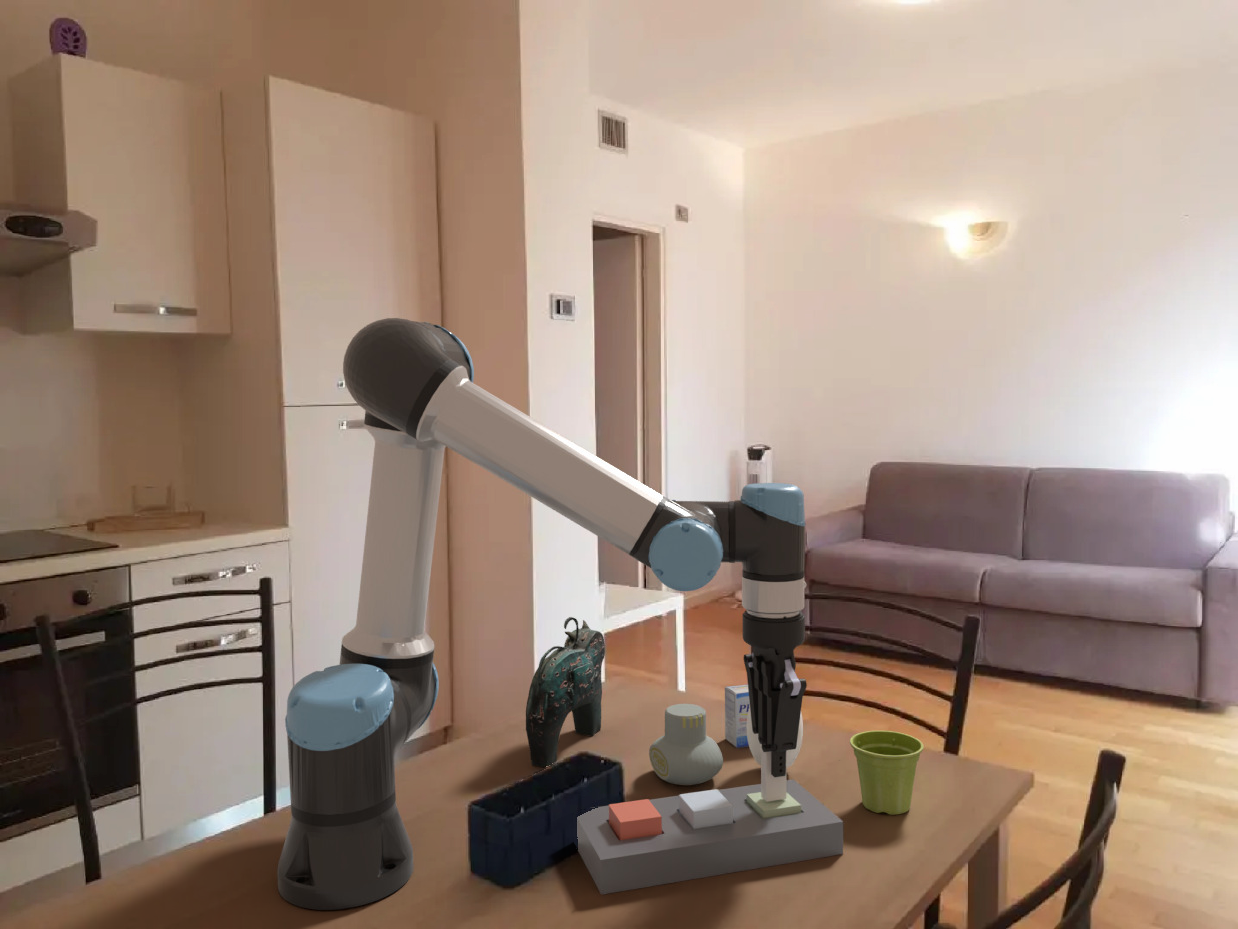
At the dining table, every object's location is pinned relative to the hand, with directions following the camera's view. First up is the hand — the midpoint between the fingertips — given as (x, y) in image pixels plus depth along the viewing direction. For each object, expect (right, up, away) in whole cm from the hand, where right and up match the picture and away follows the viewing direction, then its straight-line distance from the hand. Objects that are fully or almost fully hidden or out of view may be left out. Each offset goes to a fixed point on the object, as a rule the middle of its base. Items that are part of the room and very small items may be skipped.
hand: (773, 797), depth 120 cm
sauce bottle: (+3, -3, +21) cm, 21 cm away
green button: (0, -3, 0) cm, 3 cm away
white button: (-9, -2, -2) cm, 9 cm away
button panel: (-9, -5, -2) cm, 10 cm away
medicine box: (+2, -3, +33) cm, 33 cm away
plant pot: (+16, -4, +9) cm, 19 cm away
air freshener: (-10, -4, +19) cm, 22 cm away
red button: (-17, -3, -5) cm, 18 cm away
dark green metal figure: (-27, -3, +32) cm, 42 cm away
